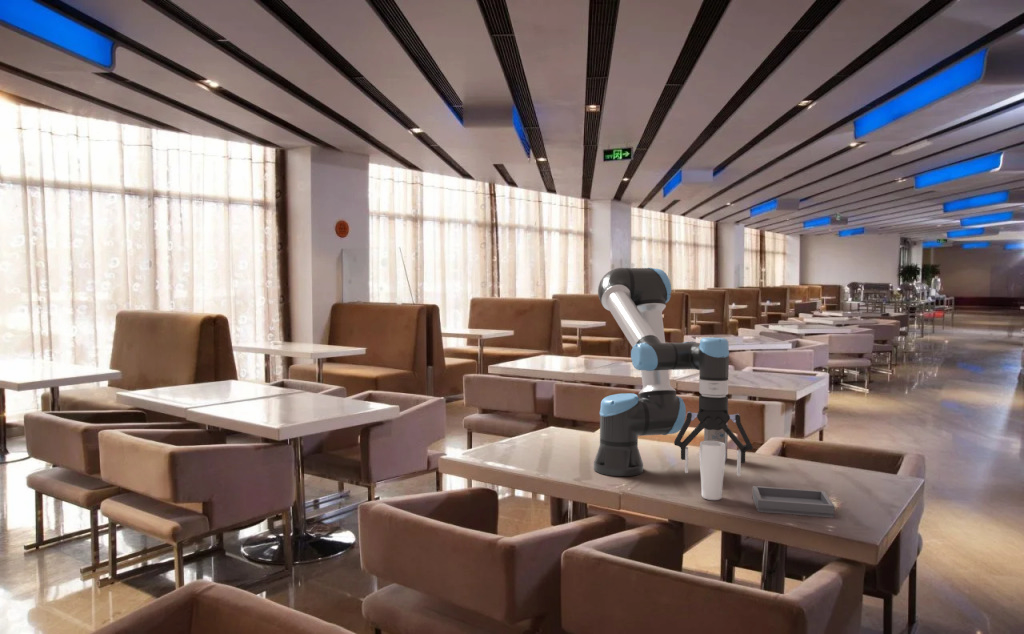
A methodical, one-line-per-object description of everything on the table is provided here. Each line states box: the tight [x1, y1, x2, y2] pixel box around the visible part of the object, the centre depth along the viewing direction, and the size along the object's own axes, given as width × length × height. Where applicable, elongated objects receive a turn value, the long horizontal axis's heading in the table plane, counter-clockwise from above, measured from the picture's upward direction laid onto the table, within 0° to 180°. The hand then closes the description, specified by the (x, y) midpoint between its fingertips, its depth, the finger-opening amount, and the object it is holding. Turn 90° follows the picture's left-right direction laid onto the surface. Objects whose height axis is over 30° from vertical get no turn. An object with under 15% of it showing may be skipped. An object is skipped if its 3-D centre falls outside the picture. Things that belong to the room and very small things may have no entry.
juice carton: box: [703, 421, 729, 462], centre depth 231 cm, size 7×7×22 cm
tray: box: [752, 485, 835, 519], centre depth 183 cm, size 18×13×3 cm
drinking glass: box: [698, 440, 726, 501], centre depth 189 cm, size 7×7×15 cm
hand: (712, 473), depth 189 cm, fingers open, 13 cm apart
